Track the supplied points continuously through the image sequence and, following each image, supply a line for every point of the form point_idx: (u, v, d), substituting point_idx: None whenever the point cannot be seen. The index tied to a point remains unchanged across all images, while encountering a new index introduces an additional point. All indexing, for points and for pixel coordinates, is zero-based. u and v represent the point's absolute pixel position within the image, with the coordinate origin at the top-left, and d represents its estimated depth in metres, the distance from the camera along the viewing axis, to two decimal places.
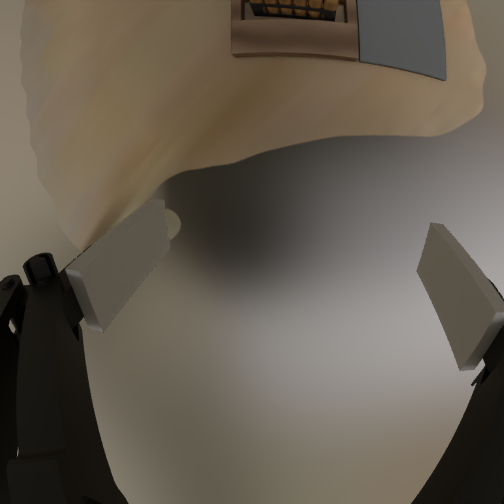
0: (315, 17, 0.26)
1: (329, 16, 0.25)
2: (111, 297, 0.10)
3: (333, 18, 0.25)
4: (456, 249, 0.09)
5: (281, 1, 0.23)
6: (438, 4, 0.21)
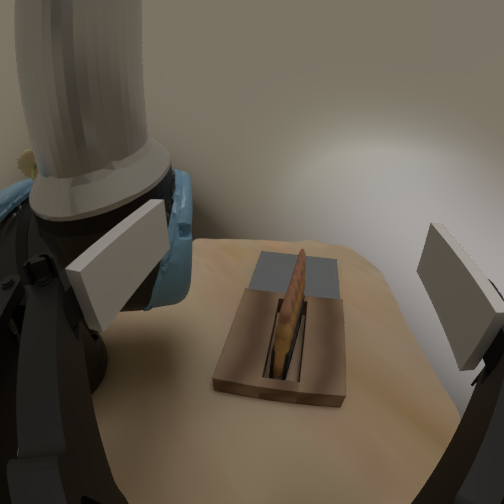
0: (298, 327, 0.36)
1: (302, 309, 0.37)
2: (111, 297, 0.10)
3: (302, 309, 0.37)
4: (456, 249, 0.09)
5: (295, 322, 0.30)
6: (267, 252, 0.53)
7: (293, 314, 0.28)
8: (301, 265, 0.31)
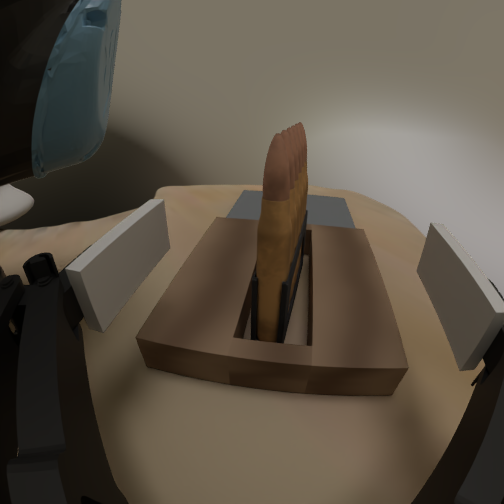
0: (299, 264, 0.22)
1: None
2: (111, 297, 0.10)
3: None
4: (456, 249, 0.09)
5: (296, 233, 0.17)
6: (251, 191, 0.39)
7: (292, 197, 0.14)
8: (300, 137, 0.17)
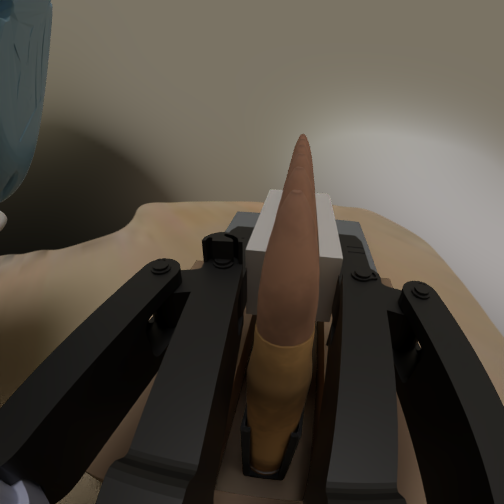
0: None
1: None
2: None
3: None
4: (321, 211, 0.12)
5: None
6: (246, 213, 0.33)
7: None
8: None
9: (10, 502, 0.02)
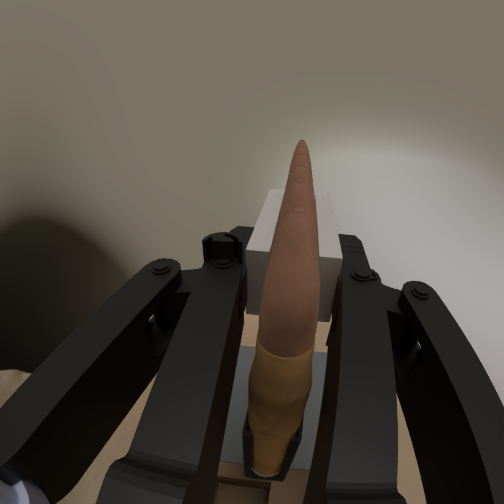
0: None
1: None
2: None
3: None
4: (321, 211, 0.12)
5: None
6: None
7: None
8: None
9: (10, 502, 0.02)
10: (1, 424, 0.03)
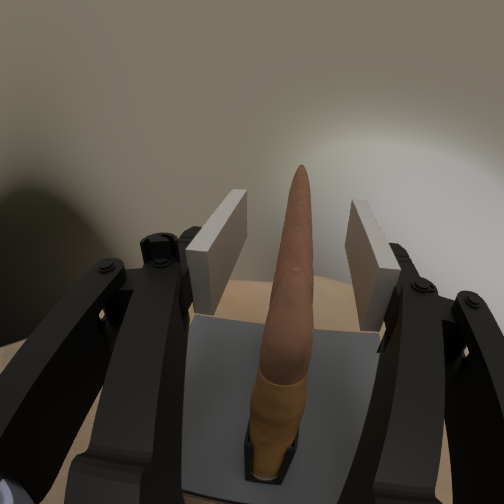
0: None
1: None
2: (219, 280, 0.11)
3: None
4: (365, 218, 0.11)
5: None
6: (208, 319, 0.21)
7: None
8: None
9: None
10: None
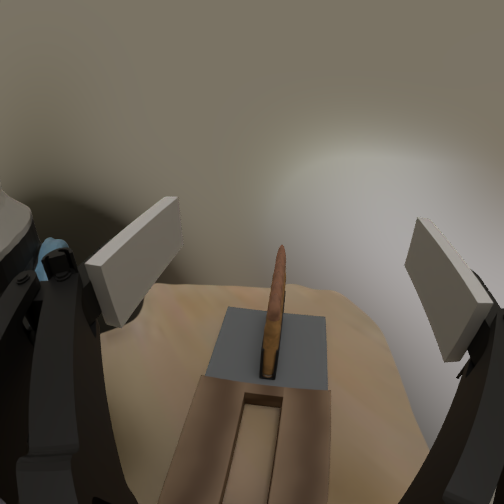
0: None
1: None
2: (129, 292, 0.10)
3: None
4: (441, 242, 0.10)
5: None
6: (235, 308, 0.41)
7: None
8: (282, 261, 0.31)
9: None
10: None
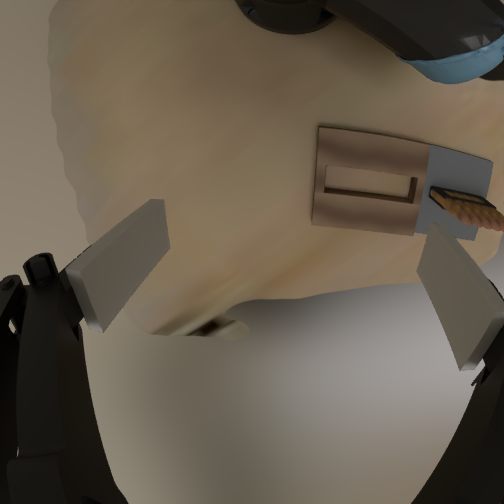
0: None
1: None
2: (111, 297, 0.10)
3: None
4: (456, 249, 0.09)
5: None
6: (490, 168, 0.31)
7: None
8: (503, 230, 0.25)
9: None
10: None
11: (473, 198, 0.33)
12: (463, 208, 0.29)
